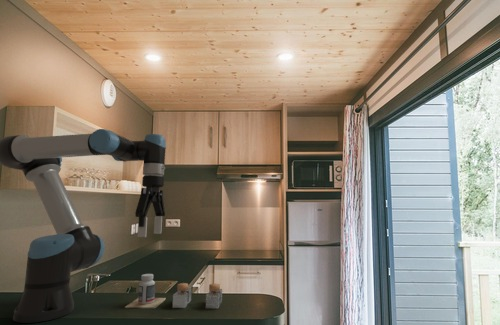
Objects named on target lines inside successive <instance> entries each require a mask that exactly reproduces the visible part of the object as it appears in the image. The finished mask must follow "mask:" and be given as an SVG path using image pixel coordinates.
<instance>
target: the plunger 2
mask: <svg viewBox="0 0 500 325" xmlns="http://www.w3.org/2000/svg"><path fill="white" fill-rule="evenodd" d="M220 287H221V285H220V283H210V284H208V292H209V291H213V293H216V291H219V290H220V289H221V288H220Z"/></svg>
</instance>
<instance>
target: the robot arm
mask: <svg viewBox="0 0 500 325" xmlns="http://www.w3.org/2000/svg"><path fill="white" fill-rule="evenodd" d="M166 147H167V146H166V137H165V136H163V135H162V134H158V133H149V134H145V136H144V140H130V139H128V138H126V137H124V136H122V135H119V134H118V133H115V132H114V131H111V130H109V129H105V128H99V129H96V130H95V131H93V132H92V133H82V134H81V133H80V134H79V133H78V134H64V135H47V136H36V137H35V136H34V137H33V136H32V137H30V136H28V135H26V134H20V135H10V136H5V137H3V138H1V139H0V164H1V165H2V166H3V167H6V168H9V169H14V170H19V171H22V172H23V175H24V177H25V180H26V181H28V182H32V183H33V184H34V187H35V190H36V192H37V193H38V196H39V198H40V200H41V202H42V205H43V206H44V209H45V211H46V213H47V215H48V219H49V220H50V222H51V225H52V227H53V229H54V232H55V234H50V235H45V236H40V237H37V238H35V239H33V240H32V241H31V242H30V245H29V250H28V252H27V262H26V270H25V278H24V289H23V291H22V293H21V296H20V298H19V300H18V302H17V304H16V307H15V308H14V311H13V317H12V320H13V322H15V323H20V324H33V323H41V322H42V323H43V322H47V321H52V320H55V319H58V318H59V319H60V318H62V317H64V316H66V315H68V314H71V313H72V312H73V311H74V308H75V305H74V304H75V301H74V298H73V295H72V294H73V292H72V290H71V285H70V283H71V274H72V273H73V272H77V271H79V270H85V269H88V268H90V267H92V266H94V265H96V264H97V263H99V261H100V260H101V259H102V258H103V255H104V252H105V243H104V240H103V239H102V237H101V236H99V235H97V234H94V233H93V232H92V230H91V228H90V226H89V225H87V224H83V222H82V220H81V218H80V216H79V214H78V211H77V210H76V207H75V205H74V203H73V200H72V199H71V197H70V194H69V193H68V191H67V188H66V187H65V184H64V182H63V180H62V178H61V176H60V171H62V170H61V169H62V168H61V166H62V162H63V158H73V157H89V156H91V157H92V156H111V157H112V158H113V159H114V161H116V162H117V161H118V162H135V161H136V162H137V161H138V162H140V161H143V163H142V164H143V165H142V166H143V167H142V175H143V176H142V180H141V186H142V187H141V189H140V196H139V198H138V199H139V200H138V203H137V205H136V209H135V212H134V213H135V217H136V218H138V224H137V238H147V230H148V228H147V227H148V217H147V214H148V212H149V210H150V208H151V204H152V207H153V210H154V213H155V216H154V221H153V222H154V223H153V234H154V235H155V234H156V235H158V234H159V235H160V234H162V229H163V226H162V225H163V217H164V216H166V211H165V204H164V196H163V195H164V194H163V189H161V190H160V188H163V187H164V184H165V178H164V175H165V170H166V167H165V166H166V165H165V164H166V162H165V161H166V149H167V148H166Z"/></svg>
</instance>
